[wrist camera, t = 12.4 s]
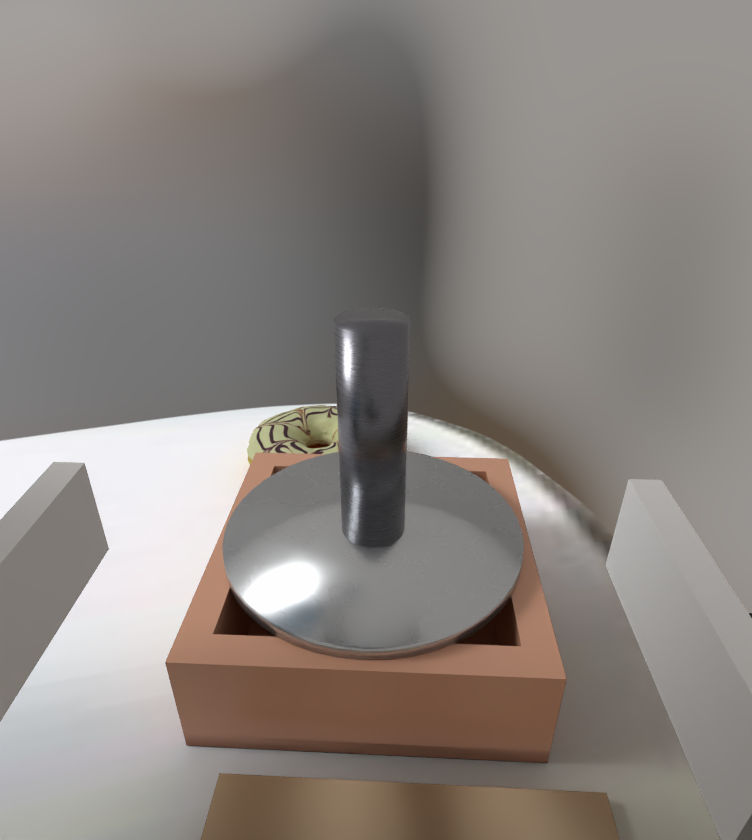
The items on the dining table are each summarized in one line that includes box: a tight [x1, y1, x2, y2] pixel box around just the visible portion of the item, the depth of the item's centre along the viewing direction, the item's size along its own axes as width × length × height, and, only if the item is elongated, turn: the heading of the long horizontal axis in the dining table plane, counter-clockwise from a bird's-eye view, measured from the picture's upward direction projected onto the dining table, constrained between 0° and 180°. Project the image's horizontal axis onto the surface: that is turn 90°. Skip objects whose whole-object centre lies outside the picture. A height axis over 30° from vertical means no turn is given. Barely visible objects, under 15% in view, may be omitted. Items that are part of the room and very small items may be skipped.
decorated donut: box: [247, 405, 339, 465], centre depth 45 cm, size 10×11×4 cm
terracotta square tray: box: [165, 452, 567, 763], centre depth 32 cm, size 16×16×6 cm
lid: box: [222, 308, 524, 660], centre depth 28 cm, size 15×15×12 cm
